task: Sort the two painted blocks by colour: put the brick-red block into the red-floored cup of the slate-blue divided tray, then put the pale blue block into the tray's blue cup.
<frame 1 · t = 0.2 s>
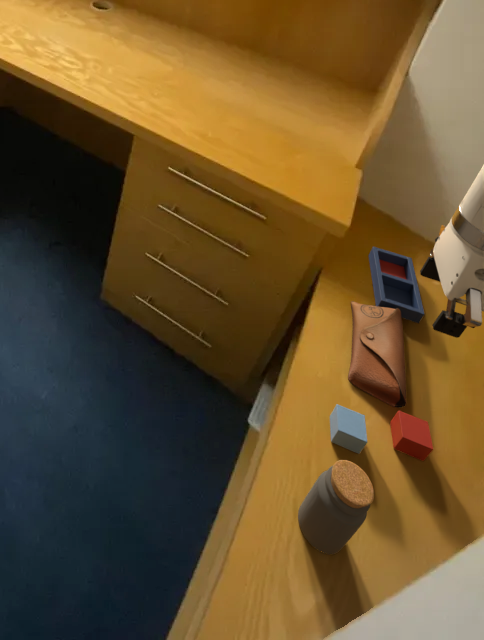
hand: (437, 303, 78), 21 cm above the table, tool pointing down, fingers open, 9 cm apart
red block: (406, 441, 81), on the table
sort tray: (392, 287, 104), on the table
sunglasses case: (373, 351, 93), on the table
bottle: (319, 527, 72), on the table
blue block: (344, 434, 81), on the table
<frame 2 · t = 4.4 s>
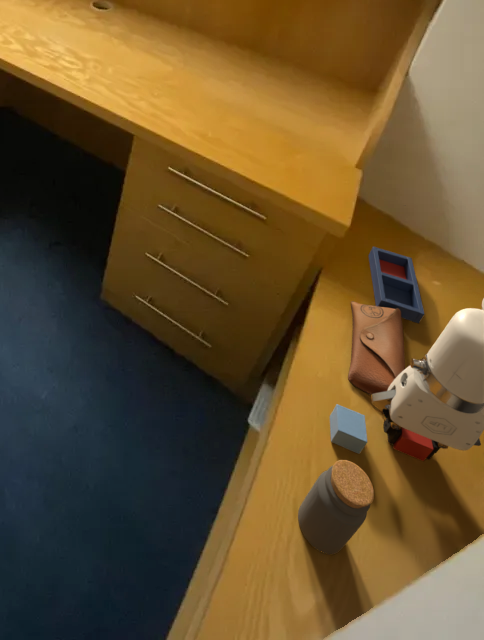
hand: (406, 440, 80), 0 cm above the table, tool pointing down, fingers closed on red block, 4 cm apart
red block: (406, 441, 81), on the table, touching gripper
everything else where it was.
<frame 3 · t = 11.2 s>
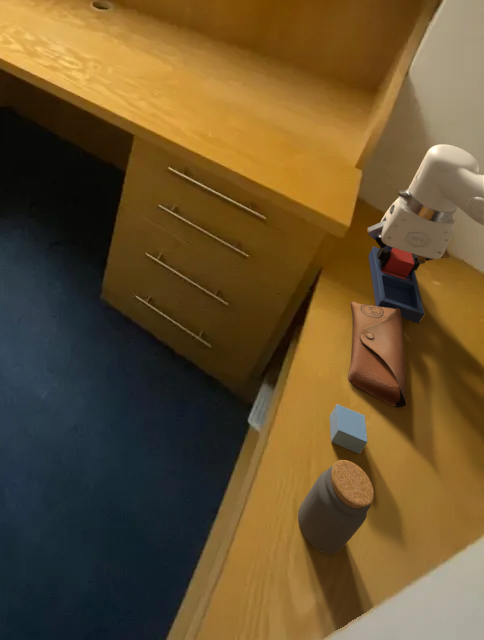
hand: (394, 264, 105), 3 cm above the table, tool pointing down, fingers closed on red block, 4 cm apart
red block: (394, 265, 105), point 3 cm above the table, touching gripper
everything else where it was.
when the fingers open (4 cm above the table, at t = 15.9 s): red block drops 3 cm, resting on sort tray.
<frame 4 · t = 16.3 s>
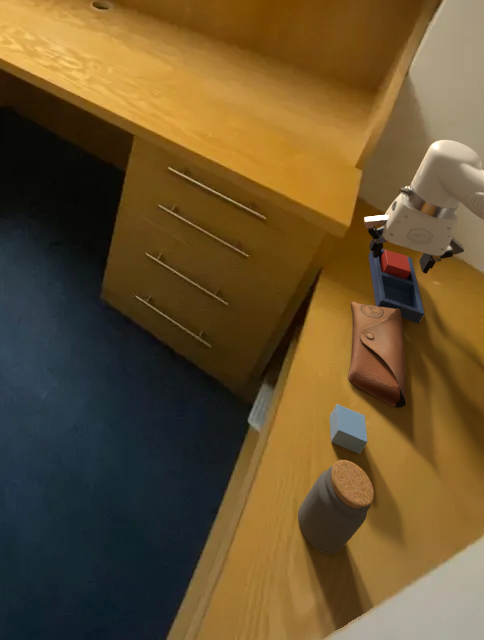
hand: (398, 259, 104), 5 cm above the table, tool pointing down, fingers open, 8 cm apart
red block: (390, 272, 106), point 1 cm above the table, touching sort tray
everything else where it was.
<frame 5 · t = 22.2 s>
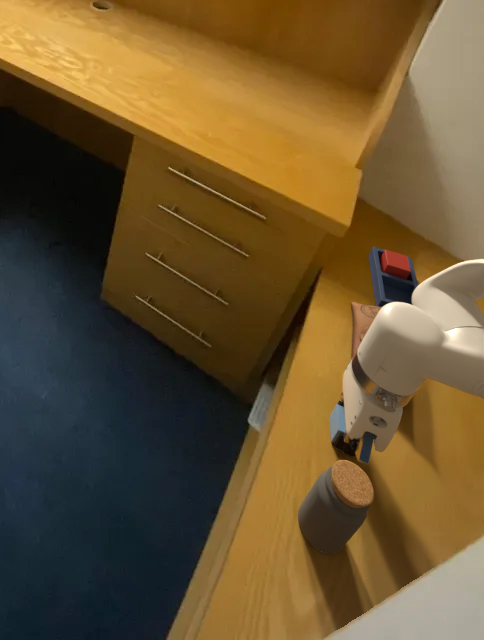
hand: (344, 433, 81), 0 cm above the table, tool pointing down, fingers closed on blue block, 4 cm apart
blue block: (344, 434, 81), on the table, touching gripper
everything else where it was.
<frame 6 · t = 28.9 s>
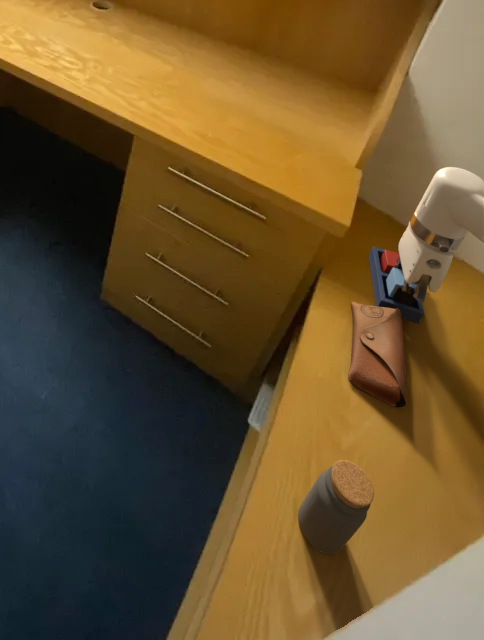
hand: (400, 291, 100), 3 cm above the table, tool pointing down, fingers closed on blue block, 4 cm apart
blue block: (399, 291, 100), point 3 cm above the table, touching gripper
everything else where it was.
when the fingers open (4 cm above the table, at t = 33.5 s): blue block drops 3 cm, resting on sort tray.
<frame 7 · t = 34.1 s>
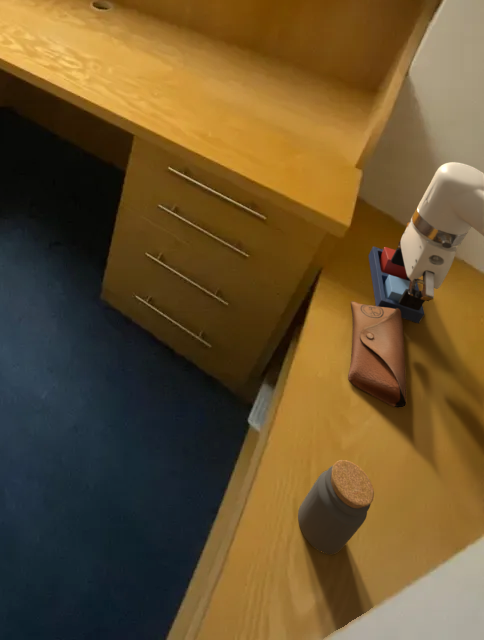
hand: (403, 284, 98), 5 cm above the table, tool pointing down, fingers open, 9 cm apart
red block: (391, 271, 106), point 1 cm above the table, tilted 11°, touching gripper, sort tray
blue block: (394, 299, 101), resting on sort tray
everything else where it was.
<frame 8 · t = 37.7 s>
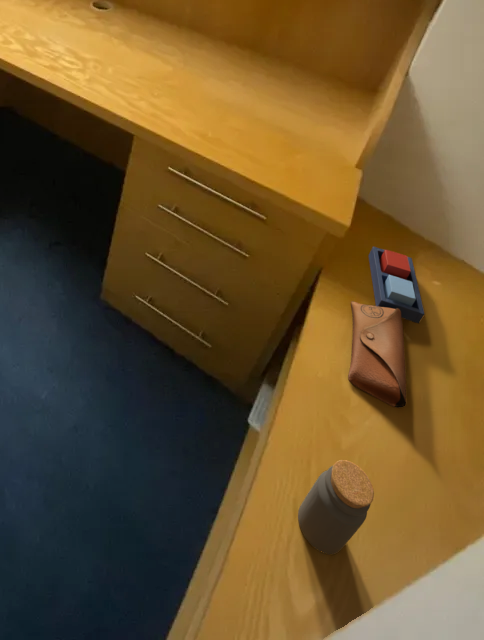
red block: (390, 272, 106), point 1 cm above the table, touching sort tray
everything else where it was.
at the end: red block 0.0 cm from the target spot in the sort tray, point 0.7 cm above the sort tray's base; blue block 0.1 cm from the target spot in the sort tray, point 0.5 cm above the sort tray's base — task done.
